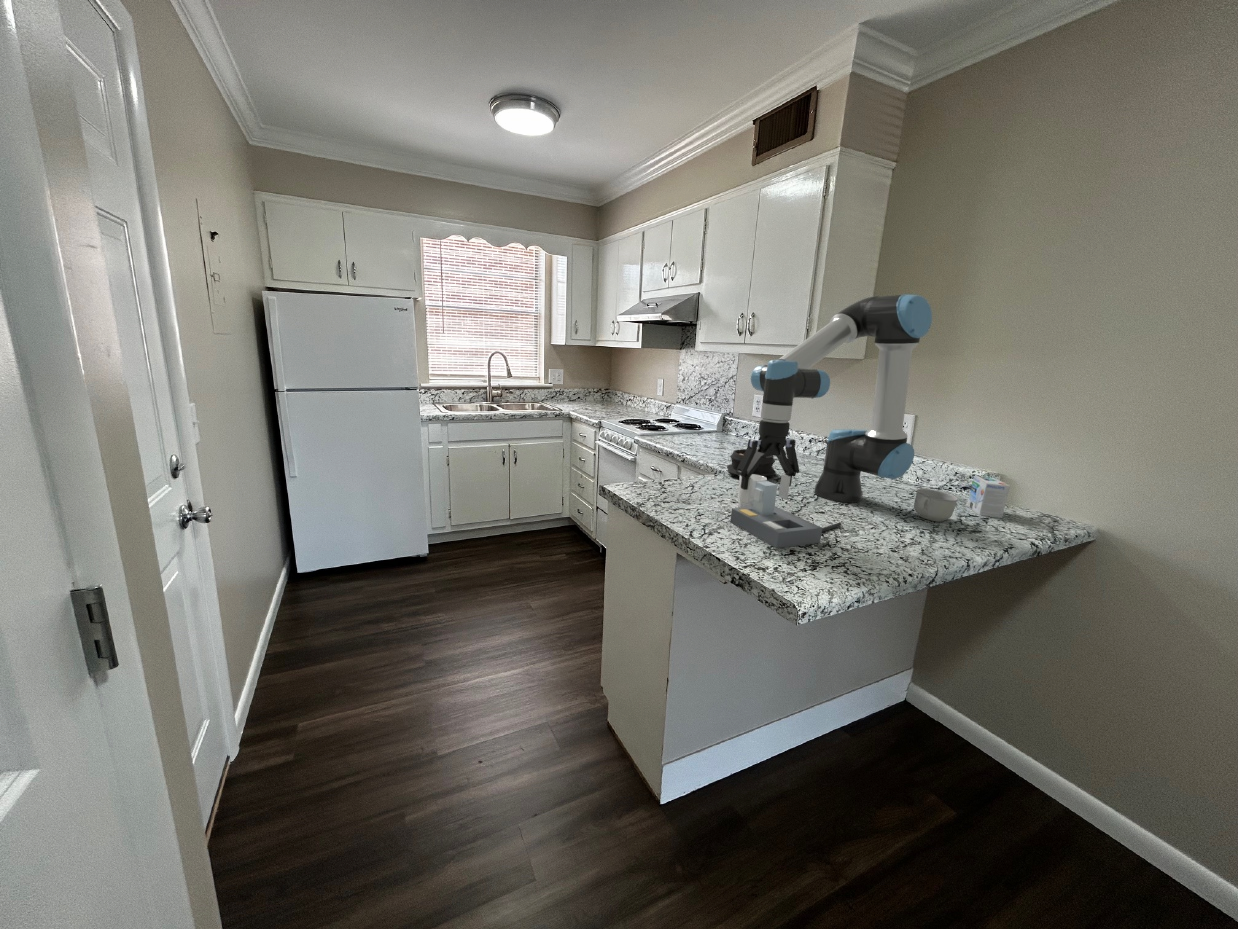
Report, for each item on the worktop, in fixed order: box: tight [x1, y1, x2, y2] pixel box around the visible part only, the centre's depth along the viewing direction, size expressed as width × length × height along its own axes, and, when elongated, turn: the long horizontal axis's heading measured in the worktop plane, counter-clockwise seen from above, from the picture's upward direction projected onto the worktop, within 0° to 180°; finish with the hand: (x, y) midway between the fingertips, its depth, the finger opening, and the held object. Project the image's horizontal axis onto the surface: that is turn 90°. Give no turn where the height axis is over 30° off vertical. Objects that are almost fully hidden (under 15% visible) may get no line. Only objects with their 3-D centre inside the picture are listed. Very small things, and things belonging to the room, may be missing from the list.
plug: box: [752, 480, 778, 516], centre depth 138 cm, size 5×4×12 cm
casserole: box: [726, 448, 777, 478], centre depth 197 cm, size 25×19×8 cm
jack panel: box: [729, 505, 823, 549], centre depth 135 cm, size 14×19×4 cm
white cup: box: [737, 474, 768, 508], centre depth 152 cm, size 8×8×10 cm
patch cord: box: [822, 521, 842, 533], centre depth 138 cm, size 16×1×1 cm, turn 128°
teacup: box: [913, 488, 959, 522], centre depth 154 cm, size 14×11×8 cm
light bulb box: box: [966, 475, 1011, 519], centre depth 165 cm, size 11×7×11 cm, turn 165°
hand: (764, 499), depth 138 cm, fingers open, 12 cm apart
